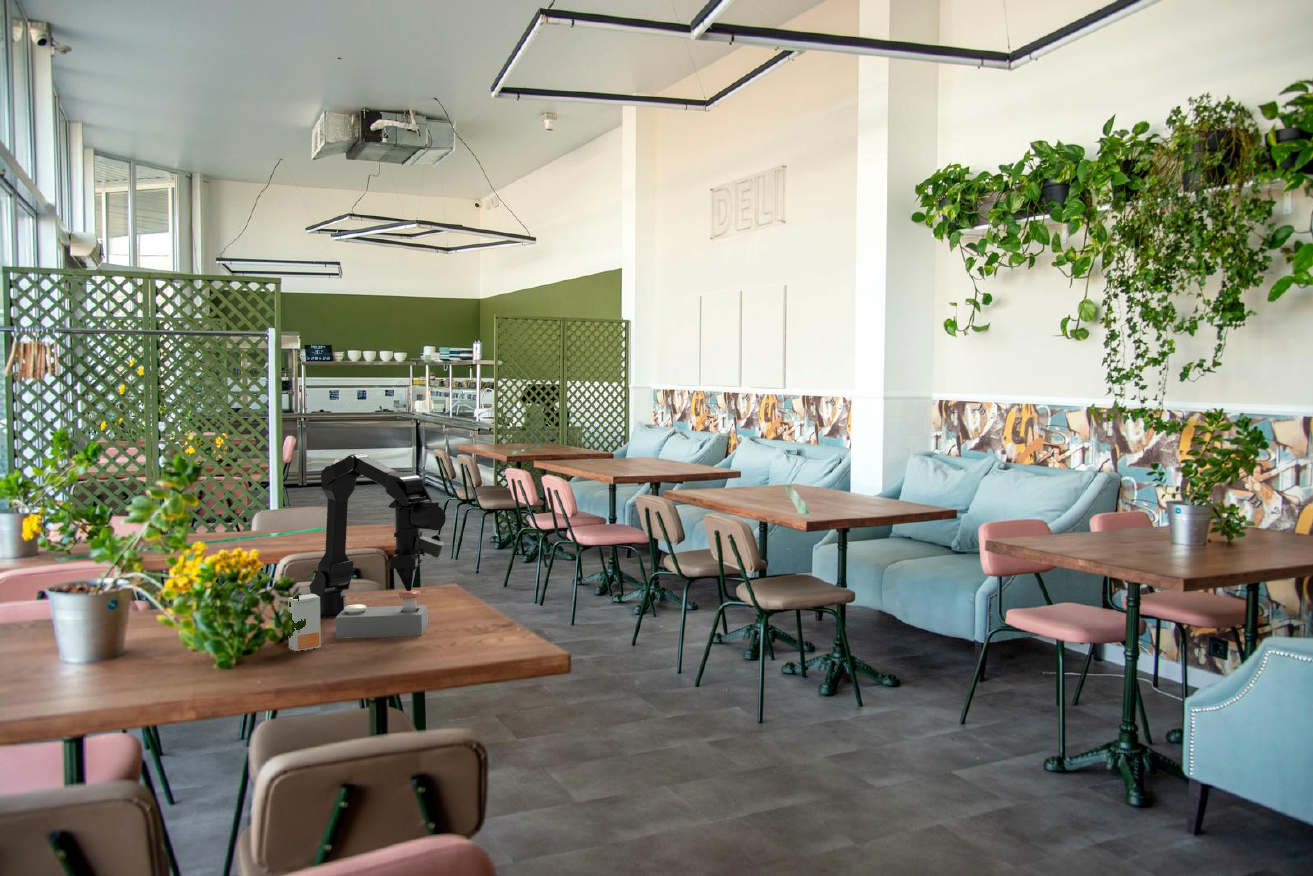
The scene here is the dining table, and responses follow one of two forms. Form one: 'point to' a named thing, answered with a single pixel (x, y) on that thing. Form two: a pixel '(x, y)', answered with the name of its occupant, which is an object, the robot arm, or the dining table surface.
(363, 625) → the block
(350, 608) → the white plunger
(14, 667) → the dining table surface
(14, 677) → the dining table surface
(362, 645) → the dining table surface
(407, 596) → the red plunger
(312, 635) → the skincare box
